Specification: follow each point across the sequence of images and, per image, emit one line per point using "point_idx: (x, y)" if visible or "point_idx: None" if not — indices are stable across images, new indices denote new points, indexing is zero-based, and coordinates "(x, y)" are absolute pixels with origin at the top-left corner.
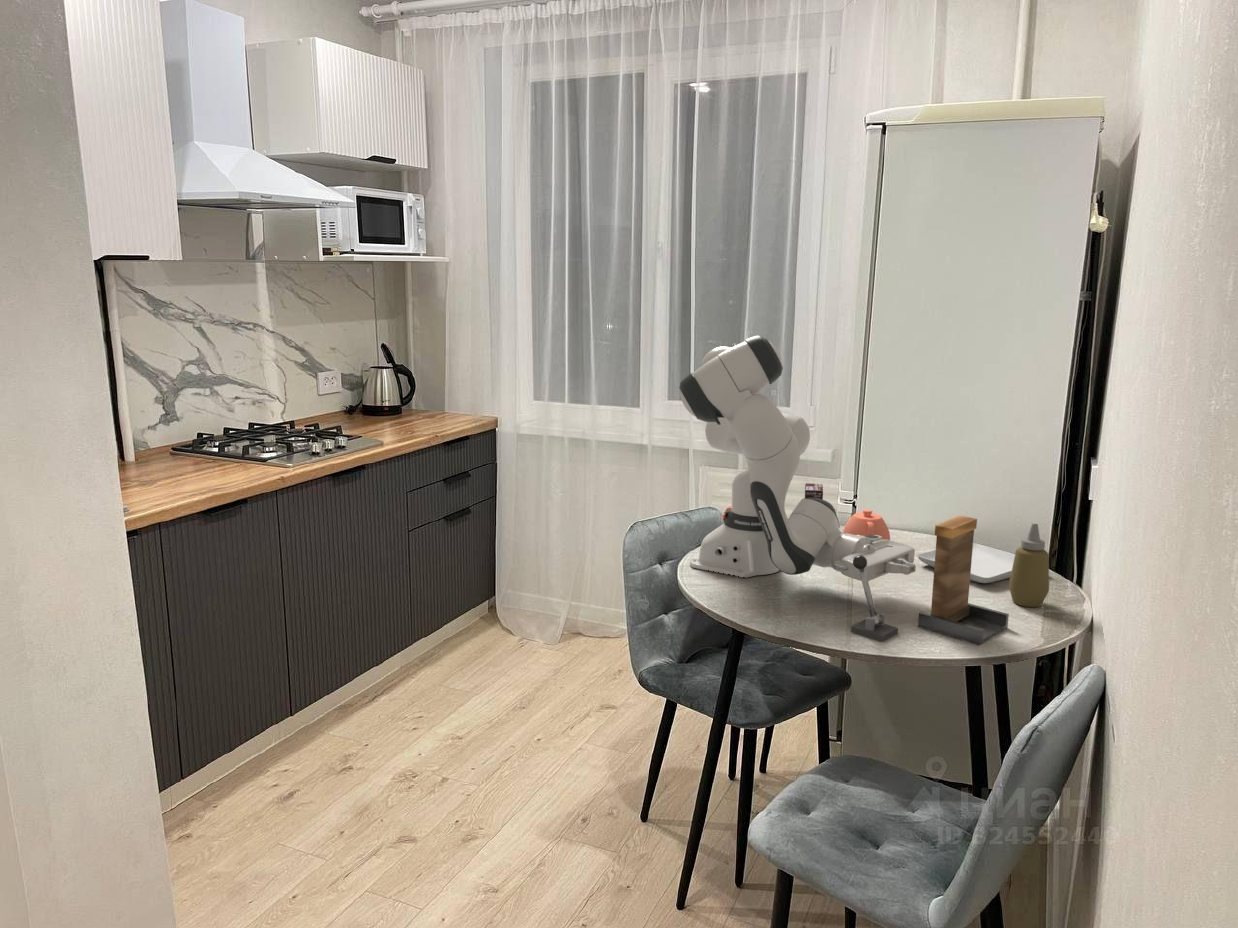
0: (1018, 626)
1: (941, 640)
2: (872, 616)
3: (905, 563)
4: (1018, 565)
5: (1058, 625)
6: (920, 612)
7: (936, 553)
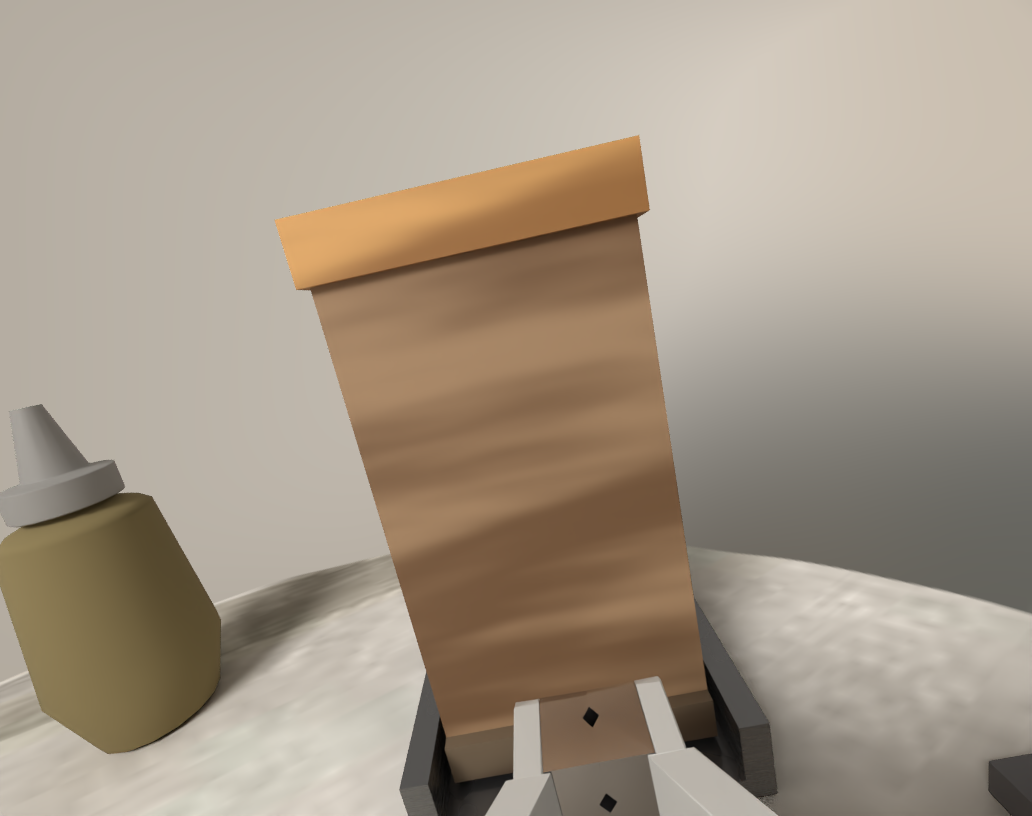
0: None
1: (766, 641)
2: None
3: (544, 807)
4: (137, 571)
5: (355, 582)
6: (752, 721)
7: (654, 340)
